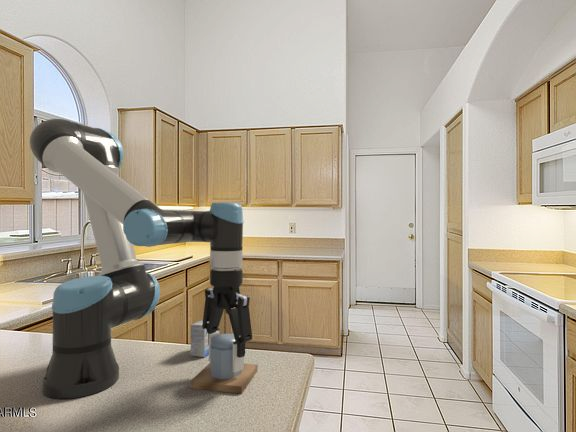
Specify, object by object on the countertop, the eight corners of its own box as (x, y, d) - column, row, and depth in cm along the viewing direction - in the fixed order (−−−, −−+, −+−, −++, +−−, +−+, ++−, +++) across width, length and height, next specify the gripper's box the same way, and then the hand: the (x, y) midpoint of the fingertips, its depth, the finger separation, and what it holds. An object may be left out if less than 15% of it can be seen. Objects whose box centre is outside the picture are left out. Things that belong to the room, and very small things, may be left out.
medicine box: (204, 358, 99) (204, 325, 99) (190, 356, 100) (190, 324, 100) (219, 348, 106) (219, 318, 106) (205, 346, 108) (205, 316, 108)
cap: (242, 377, 84) (243, 341, 84) (211, 380, 82) (211, 344, 82) (238, 365, 90) (238, 332, 90) (209, 368, 88) (209, 334, 88)
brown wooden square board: (190, 388, 81) (190, 361, 81) (212, 366, 93) (212, 343, 93) (241, 393, 79) (242, 366, 79) (257, 370, 91) (257, 346, 91)
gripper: (269, 271, 82) (268, 372, 82) (212, 262, 96) (211, 349, 96) (244, 274, 76) (243, 384, 76) (187, 265, 90) (186, 357, 90)
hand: (225, 364), depth 86 cm, fingers open, 8 cm apart
